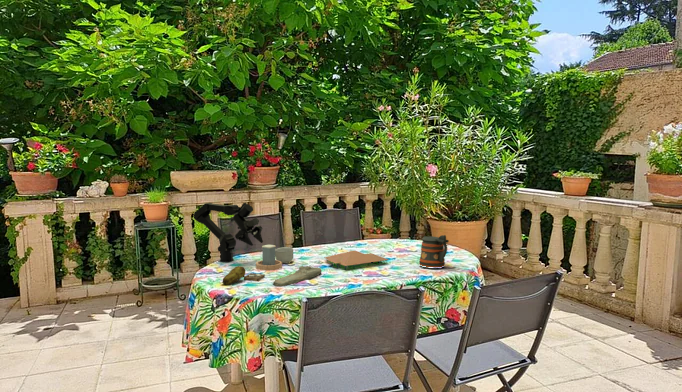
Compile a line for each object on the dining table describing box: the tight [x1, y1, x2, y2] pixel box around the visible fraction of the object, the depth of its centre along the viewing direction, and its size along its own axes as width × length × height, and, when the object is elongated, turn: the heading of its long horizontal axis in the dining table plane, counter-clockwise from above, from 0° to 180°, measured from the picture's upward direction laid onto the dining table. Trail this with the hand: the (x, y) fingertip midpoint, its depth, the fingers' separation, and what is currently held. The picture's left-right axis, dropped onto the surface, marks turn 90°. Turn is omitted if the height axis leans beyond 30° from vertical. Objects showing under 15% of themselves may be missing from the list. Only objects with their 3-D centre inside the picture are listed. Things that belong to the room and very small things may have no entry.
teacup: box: [275, 246, 294, 264], centre depth 293 cm, size 14×11×8 cm
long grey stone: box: [272, 265, 322, 288], centre depth 256 cm, size 35×5×10 cm
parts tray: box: [243, 272, 266, 282], centre depth 254 cm, size 8×8×2 cm
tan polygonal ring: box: [255, 259, 283, 271], centre depth 278 cm, size 14×14×3 cm
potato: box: [222, 265, 247, 286], centre depth 247 cm, size 8×13×8 cm, turn 127°
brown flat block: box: [323, 250, 389, 271], centre depth 291 cm, size 23×33×8 cm
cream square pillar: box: [261, 244, 276, 266], centre depth 277 cm, size 5×5×13 cm
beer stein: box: [418, 234, 449, 267], centre depth 284 cm, size 19×15×20 cm
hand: (257, 244), depth 281 cm, fingers open, 9 cm apart
